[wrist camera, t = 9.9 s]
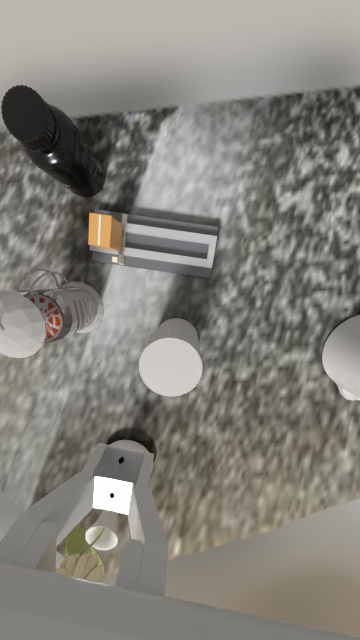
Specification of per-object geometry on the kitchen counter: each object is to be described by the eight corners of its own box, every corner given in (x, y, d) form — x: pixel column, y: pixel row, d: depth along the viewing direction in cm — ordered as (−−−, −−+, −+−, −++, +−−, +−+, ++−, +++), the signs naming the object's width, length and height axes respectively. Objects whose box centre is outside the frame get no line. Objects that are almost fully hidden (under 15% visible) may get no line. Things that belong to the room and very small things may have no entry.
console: (216, 229, 31) (221, 221, 27) (208, 278, 33) (211, 278, 29) (99, 212, 32) (84, 201, 27) (96, 261, 34) (82, 258, 29)
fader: (125, 226, 30) (111, 215, 25) (123, 252, 31) (109, 247, 26) (106, 224, 30) (89, 212, 25) (105, 250, 31) (87, 244, 26)
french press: (50, 326, 37) (-227, 421, 12) (56, 265, 34) (-280, 232, 10) (100, 338, 37) (-77, 457, 12) (109, 278, 34) (-92, 277, 10)
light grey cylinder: (158, 314, 35) (142, 332, 23) (201, 322, 35) (207, 343, 23) (152, 355, 37) (135, 390, 25) (193, 362, 37) (195, 401, 25)
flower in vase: (162, 469, 43) (125, 725, 18) (116, 481, 44) (25, 733, 20) (140, 422, 40) (65, 642, 16) (92, 435, 42) (-45, 658, 17)
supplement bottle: (69, 201, 32) (-1, 155, 20) (61, 154, 30) (-20, 75, 19) (109, 197, 31) (61, 147, 20) (103, 149, 30) (47, 64, 18)
